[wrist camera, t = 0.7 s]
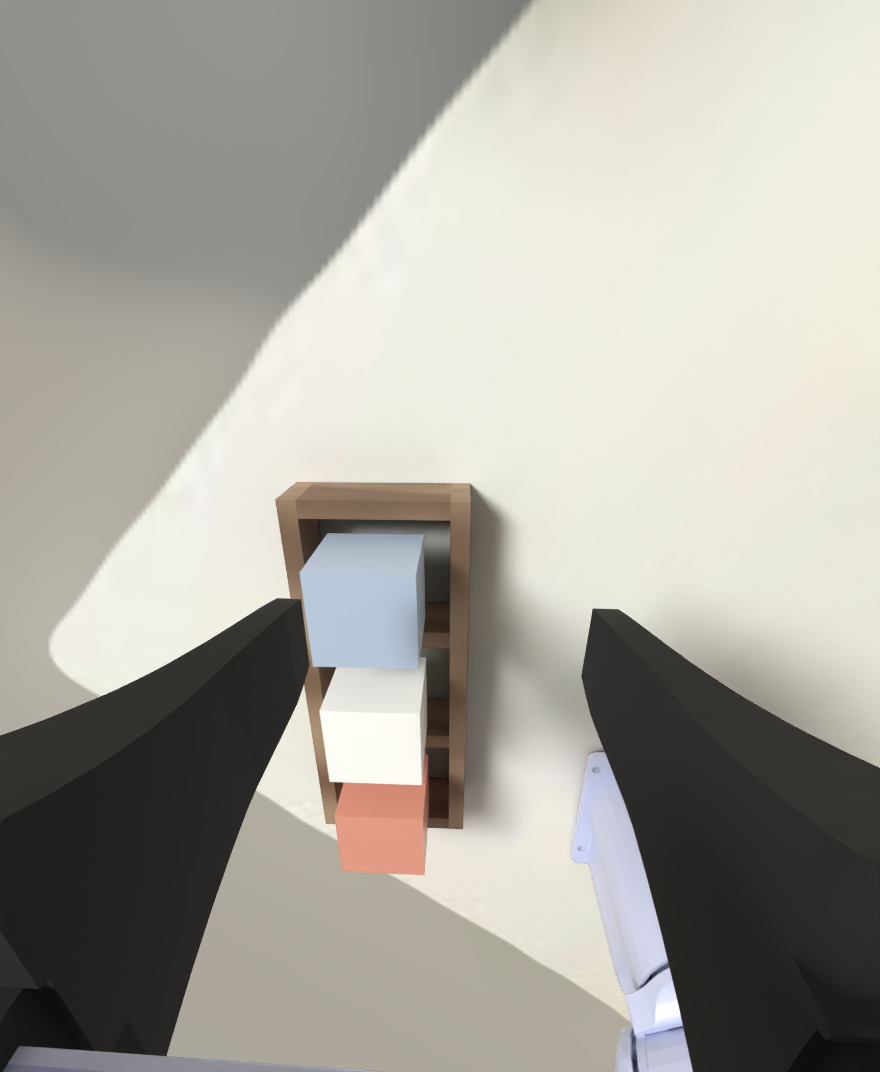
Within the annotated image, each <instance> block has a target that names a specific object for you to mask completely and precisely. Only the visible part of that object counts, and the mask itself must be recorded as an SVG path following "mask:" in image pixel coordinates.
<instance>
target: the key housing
mask: <svg viewBox="0 0 880 1072" xmlns="http://www.w3.org/2000/svg"><path fill="white" fill-rule="evenodd" d="M275 501H276V507H277V514H278V520H279V526H280V533H281V539H282V545H283V552H284V558H285V565H286V571H287V577H288V584H289V590H290V597H291V599H301V602H302V610H303V618H304V625H305V633H306V641H307V649H308V656H309V664H310V666H309V669H308V673H307V676H306V679H305V682H304V686H305V692H306V699H307V705H308V712H309V718H310V724H311V731H312V737H313V744H314V750H315V756H316V763H317V769H318V775H319V782H320V788H321V795H322V801H323V807H324V814H325V820H326V824H336V823H335V813H336V809H337V805H338V801H339V798H340V794H341V790H342V786H343V783H344V782H330V781H329V774H328V767H327V760H326V753H325V746H324V739H323V732H322V726H321V719H320V712H319V711H320V708H321V706H322V703H323V701H324V698H325V695H326V693H327V690H328V688H329V685H330V683H331V680H332V677H333V675H334V672H335V670H336V667H313V663H312V656H311V649H310V642H309V635H308V628H307V621H306V614H305V607H304V600H303V593H302V587H301V580H300V571H301V570H302V568H303V567H304V566H305V564H306V563H307V561H308V560H309V559H310V557H311V556H312V554H313V553H314V552H315V550H316V549H317V547H318V546H319V545H320V543H321V536H320V528H319V519H360V520H444V521H451V523H450V604H449V603H425V624H424V631H423V639H422V647H433V648H450V695H449V700H438V699H427V733H426V744H425V747H438V748H449V779H440V778H429V815H428V828H449V829H463V806H464V765H465V725H466V685H467V644H468V604H469V563H470V523H471V494H470V484H446V483H329V482H296V483H295V484H294V485H293V486H291V487H290V488H289V489H288V490H287V491H285V492H284V493H283V494H282V495H281V496H279V497H278V498H277V499H276V500H275Z"/></svg>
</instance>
